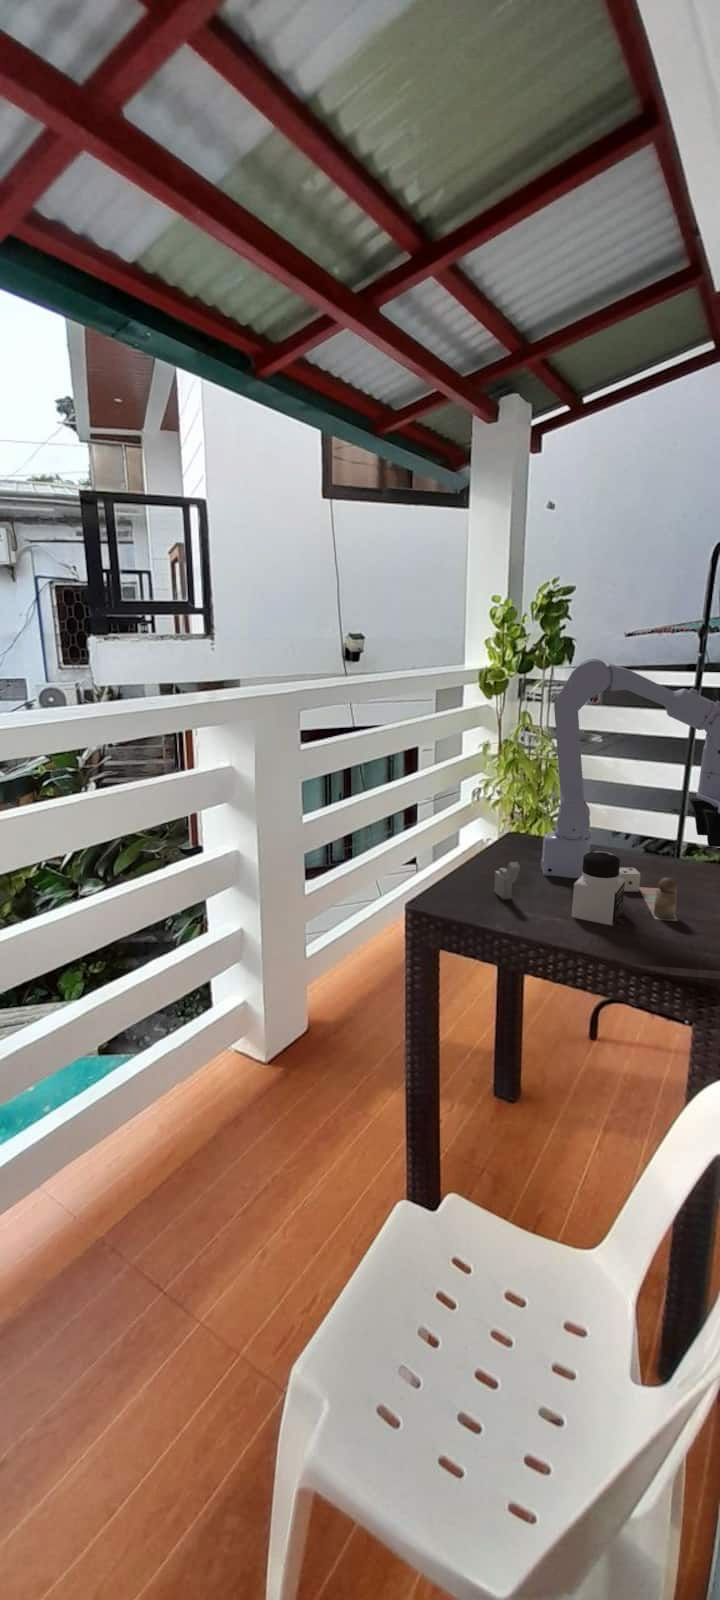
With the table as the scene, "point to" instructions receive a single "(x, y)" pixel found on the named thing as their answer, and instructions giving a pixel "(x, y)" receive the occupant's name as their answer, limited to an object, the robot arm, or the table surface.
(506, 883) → the grey notched upright piece
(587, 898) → the medicine bottle
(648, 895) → the board
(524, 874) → the table surface
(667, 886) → the pawn
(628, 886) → the die
